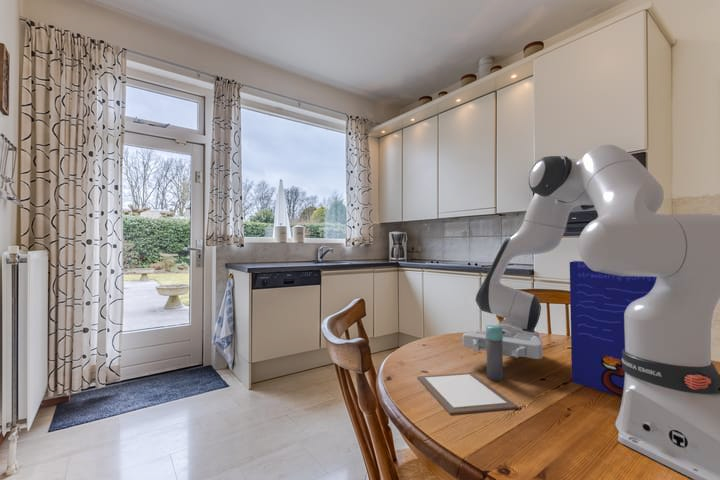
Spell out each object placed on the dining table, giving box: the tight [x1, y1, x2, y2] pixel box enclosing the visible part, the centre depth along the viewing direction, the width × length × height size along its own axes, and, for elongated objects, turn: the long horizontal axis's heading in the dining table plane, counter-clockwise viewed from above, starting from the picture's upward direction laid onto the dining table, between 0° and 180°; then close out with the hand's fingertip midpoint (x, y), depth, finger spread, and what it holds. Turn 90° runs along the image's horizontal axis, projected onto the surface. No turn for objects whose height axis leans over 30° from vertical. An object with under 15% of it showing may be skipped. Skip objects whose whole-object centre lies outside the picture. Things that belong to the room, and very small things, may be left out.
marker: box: [485, 324, 504, 382], centre depth 85 cm, size 4×4×13 cm
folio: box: [416, 372, 519, 415], centre depth 77 cm, size 19×15×1 cm
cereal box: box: [569, 260, 657, 398], centre depth 76 cm, size 22×6×30 cm, turn 36°
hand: (494, 350), depth 85 cm, fingers open, 8 cm apart
